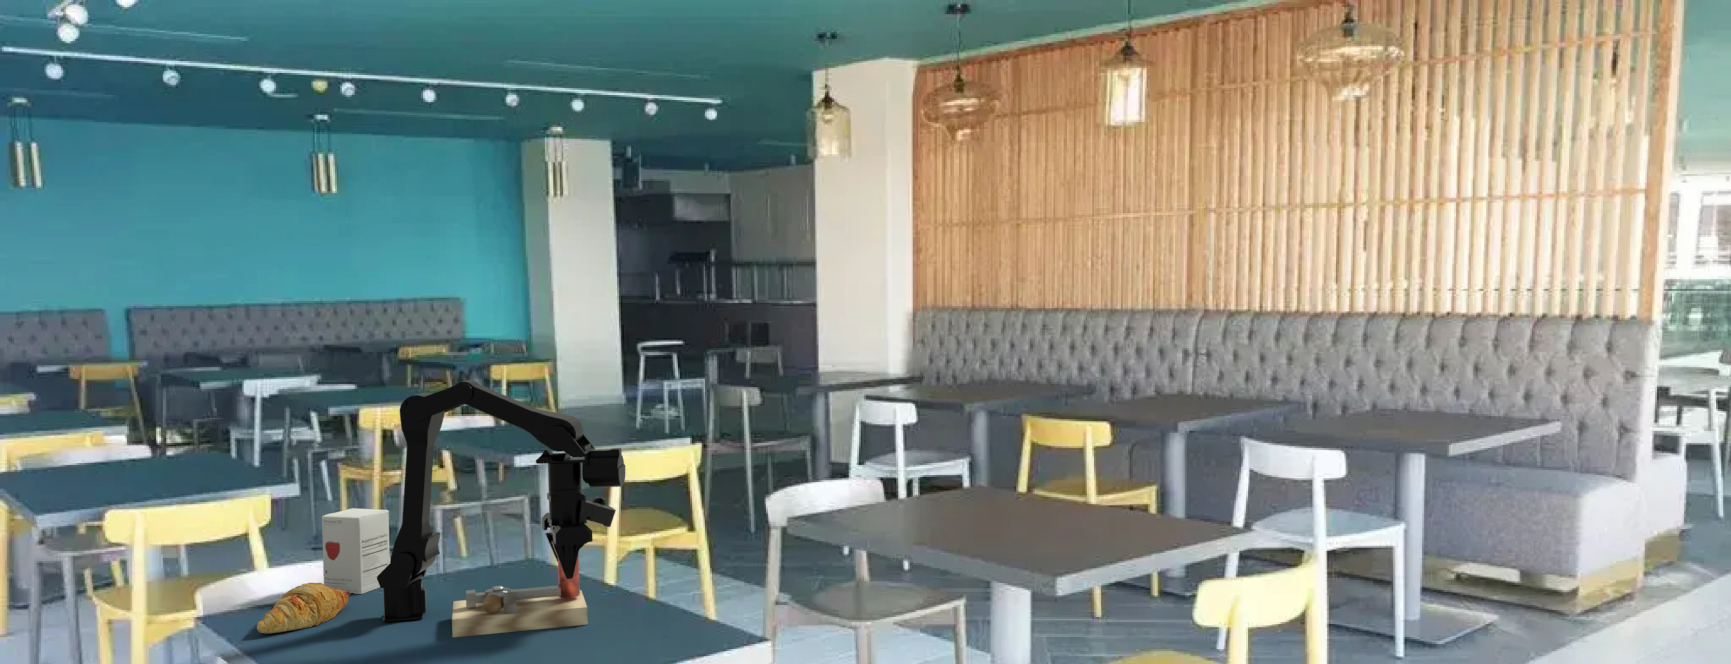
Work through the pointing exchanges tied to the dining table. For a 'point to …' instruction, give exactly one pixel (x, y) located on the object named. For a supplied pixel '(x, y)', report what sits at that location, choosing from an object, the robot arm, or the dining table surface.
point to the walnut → (492, 603)
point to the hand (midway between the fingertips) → (567, 575)
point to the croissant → (303, 608)
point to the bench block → (519, 615)
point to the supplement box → (355, 549)
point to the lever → (532, 589)
